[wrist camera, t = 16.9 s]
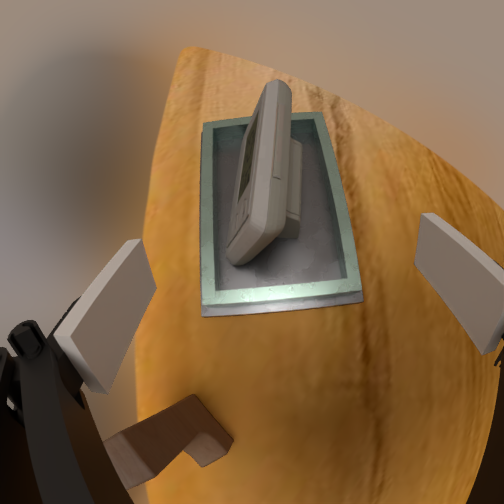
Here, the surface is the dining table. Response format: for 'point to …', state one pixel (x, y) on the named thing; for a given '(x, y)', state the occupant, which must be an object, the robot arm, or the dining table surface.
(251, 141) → the digital clock
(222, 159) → the keeper tray
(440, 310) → the dining table surface
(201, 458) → the wooden block
